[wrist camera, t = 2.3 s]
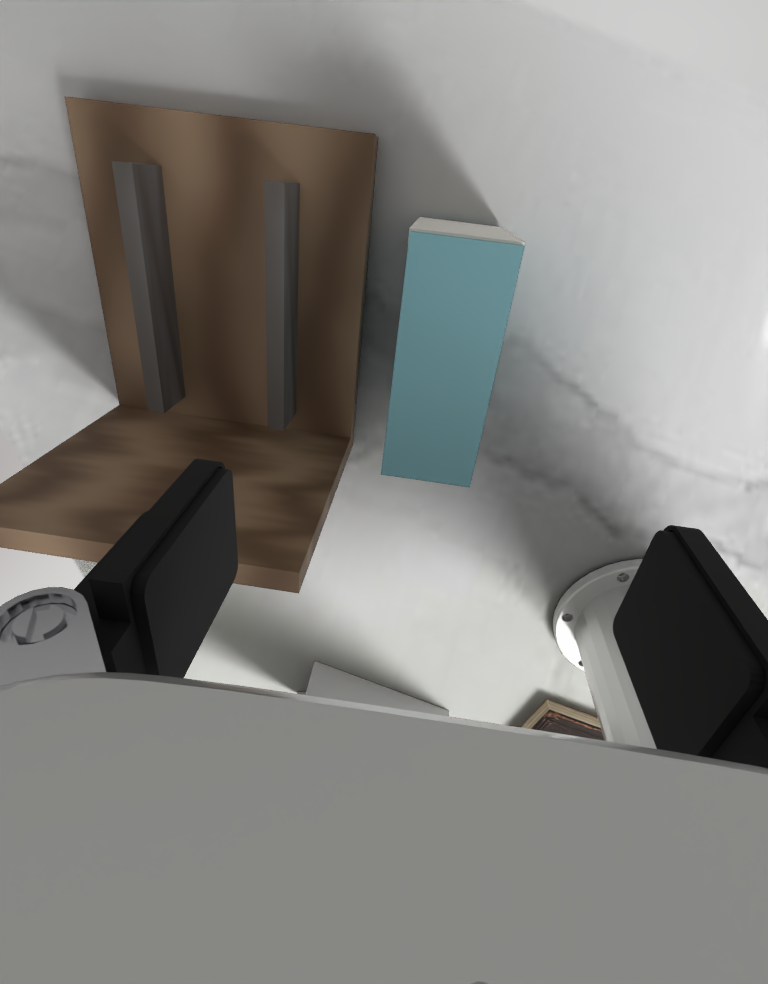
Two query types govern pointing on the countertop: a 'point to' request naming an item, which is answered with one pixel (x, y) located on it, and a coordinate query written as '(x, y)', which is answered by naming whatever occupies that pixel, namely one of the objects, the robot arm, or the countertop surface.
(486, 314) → the teal book
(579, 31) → the countertop surface
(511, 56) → the countertop surface
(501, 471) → the countertop surface
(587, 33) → the countertop surface
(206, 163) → the wooden book stand
